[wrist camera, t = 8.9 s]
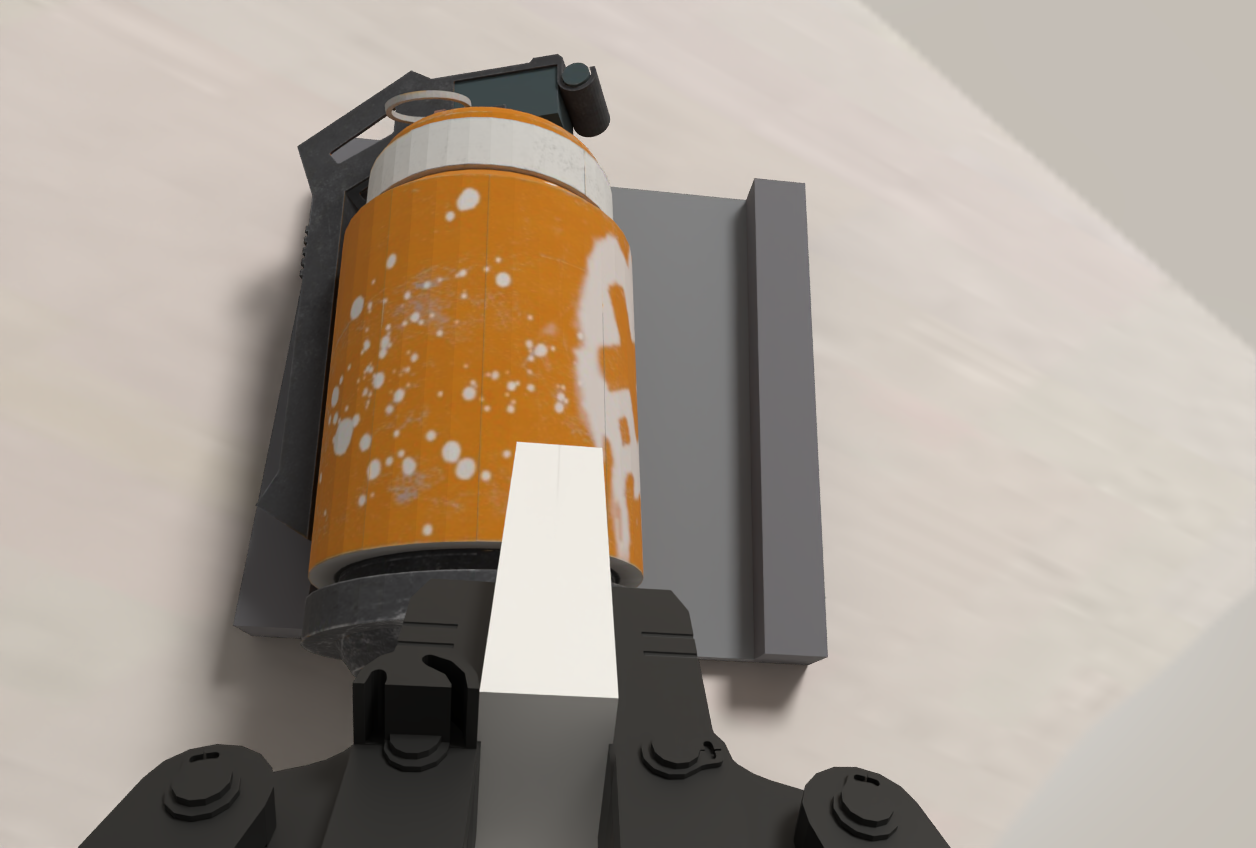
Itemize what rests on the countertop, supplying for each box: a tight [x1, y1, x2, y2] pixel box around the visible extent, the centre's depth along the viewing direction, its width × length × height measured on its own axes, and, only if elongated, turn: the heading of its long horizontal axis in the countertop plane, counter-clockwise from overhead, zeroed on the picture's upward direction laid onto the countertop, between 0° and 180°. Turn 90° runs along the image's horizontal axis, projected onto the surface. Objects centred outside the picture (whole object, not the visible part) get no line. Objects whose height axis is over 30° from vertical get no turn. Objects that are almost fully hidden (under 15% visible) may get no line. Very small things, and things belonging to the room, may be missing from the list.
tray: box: [233, 138, 828, 665], centre depth 31 cm, size 18×18×2 cm
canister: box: [256, 54, 644, 677], centre depth 28 cm, size 9×11×20 cm
